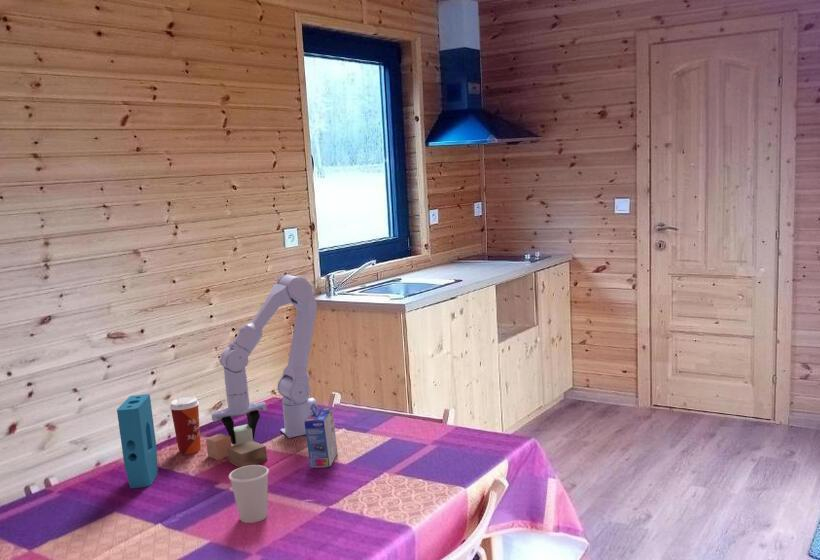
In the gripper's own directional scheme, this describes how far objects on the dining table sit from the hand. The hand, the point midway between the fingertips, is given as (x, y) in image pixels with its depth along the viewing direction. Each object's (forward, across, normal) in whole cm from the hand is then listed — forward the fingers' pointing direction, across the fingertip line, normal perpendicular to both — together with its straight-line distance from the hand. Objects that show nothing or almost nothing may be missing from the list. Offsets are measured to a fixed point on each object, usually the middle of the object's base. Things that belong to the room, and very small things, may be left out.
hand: (242, 440), depth 208 cm
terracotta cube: (+2, -7, -3) cm, 8 cm away
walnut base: (+2, -2, -12) cm, 12 cm away
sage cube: (+1, 0, 0) cm, 1 cm away
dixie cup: (+2, -10, -45) cm, 46 cm away
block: (+2, -27, -8) cm, 28 cm away
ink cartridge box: (+2, +14, -24) cm, 28 cm away
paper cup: (+2, -13, +6) cm, 14 cm away
